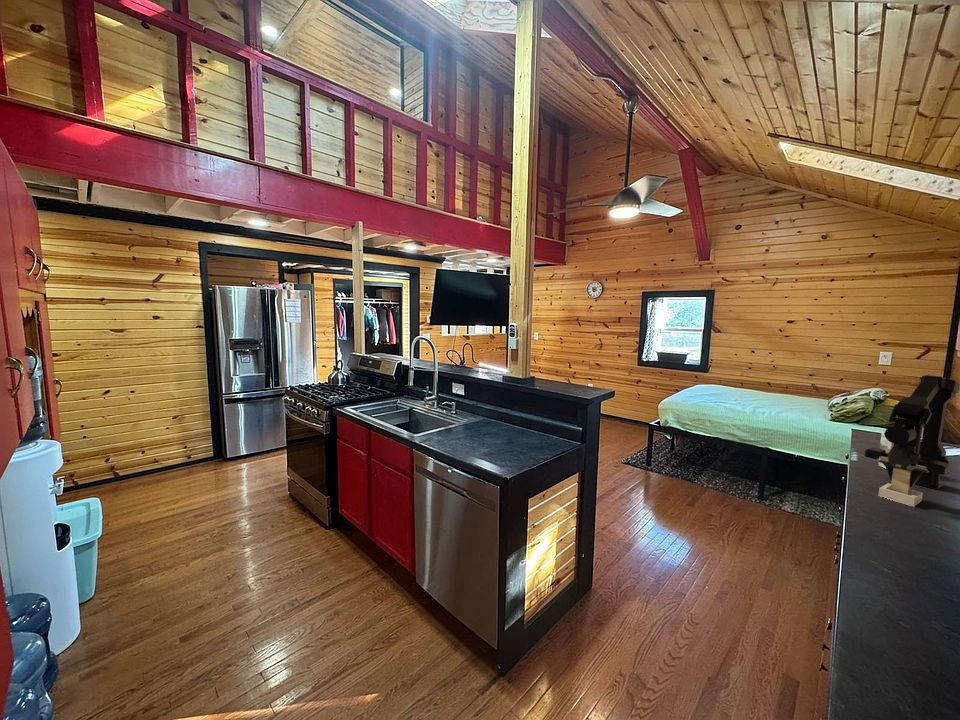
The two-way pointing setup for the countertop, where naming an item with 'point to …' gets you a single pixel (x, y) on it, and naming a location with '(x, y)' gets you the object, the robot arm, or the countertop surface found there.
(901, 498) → the cream square ring
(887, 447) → the syrup box
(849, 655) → the countertop surface
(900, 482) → the wooden peg
